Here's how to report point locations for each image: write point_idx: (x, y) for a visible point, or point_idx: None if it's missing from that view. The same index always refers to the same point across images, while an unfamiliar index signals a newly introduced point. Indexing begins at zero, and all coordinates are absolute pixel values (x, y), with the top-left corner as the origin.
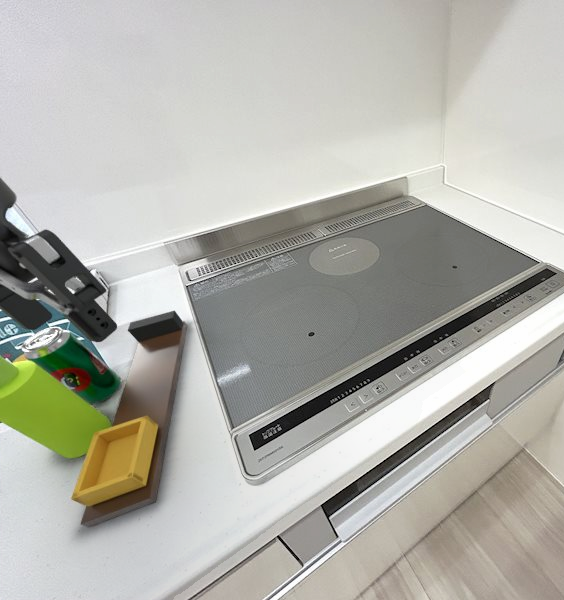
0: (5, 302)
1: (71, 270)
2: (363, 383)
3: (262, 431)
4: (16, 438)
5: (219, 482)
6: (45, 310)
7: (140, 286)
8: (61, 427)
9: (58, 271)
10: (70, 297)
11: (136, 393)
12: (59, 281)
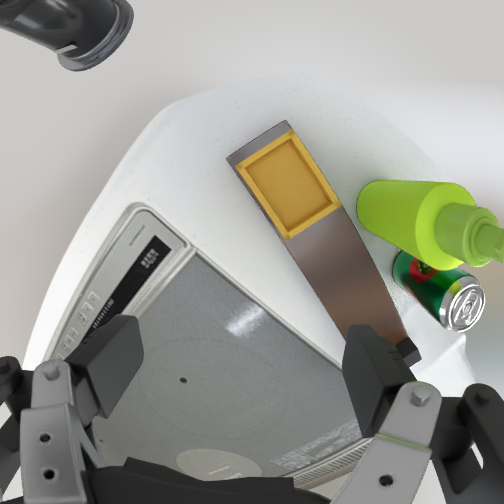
0: (377, 392)
1: None
2: (96, 322)
3: (159, 256)
4: None
5: (170, 194)
6: (347, 380)
7: (454, 394)
8: (378, 199)
9: None
10: None
11: (356, 270)
12: None
